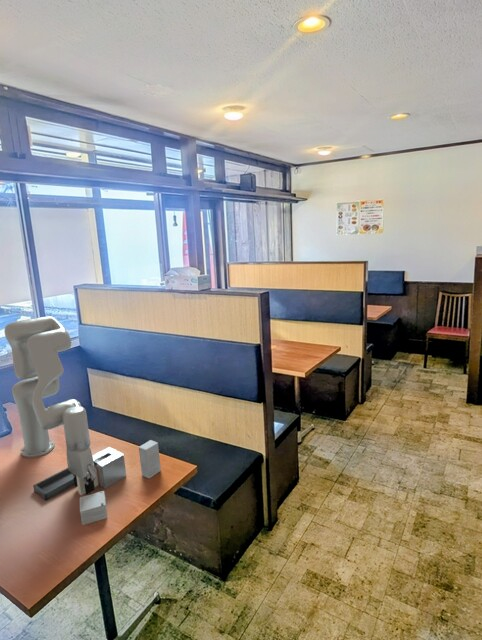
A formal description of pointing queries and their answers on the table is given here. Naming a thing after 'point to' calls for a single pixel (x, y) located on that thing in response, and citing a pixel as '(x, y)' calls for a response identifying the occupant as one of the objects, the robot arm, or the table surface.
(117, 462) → the ticket dispenser
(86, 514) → the small box
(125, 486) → the table surface
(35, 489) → the stub tray
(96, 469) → the ticket
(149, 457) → the skincare box
